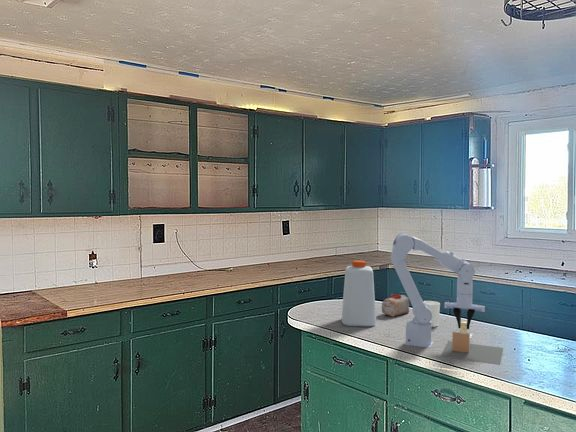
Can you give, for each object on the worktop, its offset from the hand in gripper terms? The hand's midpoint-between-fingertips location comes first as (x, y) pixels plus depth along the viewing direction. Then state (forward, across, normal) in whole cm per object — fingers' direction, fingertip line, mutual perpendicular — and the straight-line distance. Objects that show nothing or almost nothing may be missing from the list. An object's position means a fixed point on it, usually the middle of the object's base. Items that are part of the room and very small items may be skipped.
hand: (463, 328), depth 196 cm
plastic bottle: (+7, +47, -15) cm, 50 cm away
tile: (+7, 0, +8) cm, 10 cm away
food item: (+7, +35, -37) cm, 52 cm away
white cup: (+7, +17, -25) cm, 31 cm away
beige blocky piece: (+3, 0, 0) cm, 3 cm away
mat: (+7, -4, +7) cm, 11 cm away
